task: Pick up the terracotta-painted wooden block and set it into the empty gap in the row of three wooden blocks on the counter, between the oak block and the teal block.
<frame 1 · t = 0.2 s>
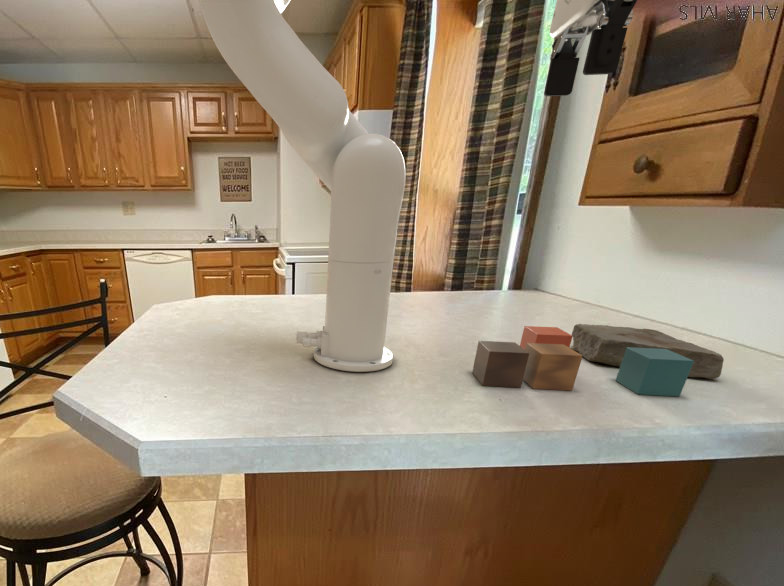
hand: (576, 85, 51), 37 cm above the countertop, tool pointing down, fingers open, 9 cm apart
teal block: (645, 388, 58), on the countertop
grey stone slab: (629, 360, 69), on the countertop
terracotta block: (539, 360, 68), on the countertop
walnut block: (495, 380, 60), on the countertop
oak block: (544, 382, 60), on the countertop
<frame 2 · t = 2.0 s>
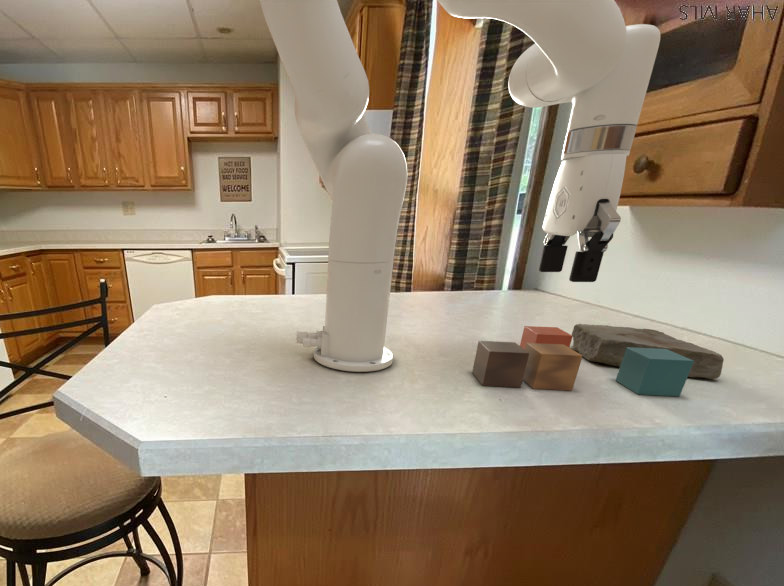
hand: (564, 276, 63), 13 cm above the countertop, tool pointing down, fingers open, 9 cm apart
nothing on the countertop moved.
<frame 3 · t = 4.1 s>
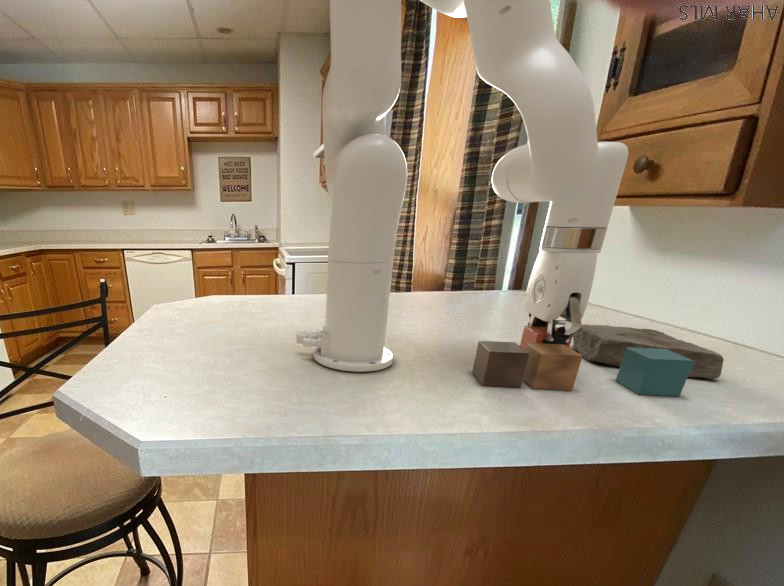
hand: (540, 358, 68), 0 cm above the countertop, tool pointing down, fingers closed on terracotta block, 5 cm apart
terracotta block: (539, 360, 68), on the countertop, touching gripper
everything else where it was.
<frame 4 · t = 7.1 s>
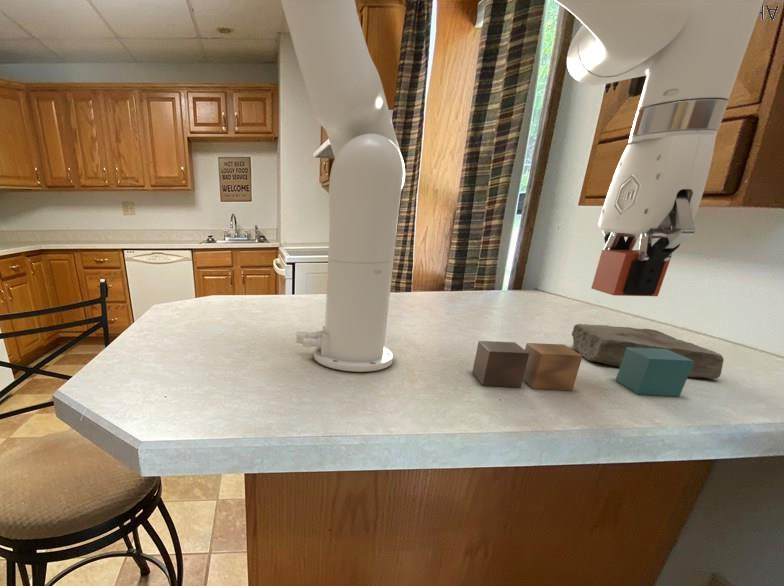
hand: (623, 288, 54), 13 cm above the countertop, tool pointing down, fingers closed on terracotta block, 5 cm apart
terracotta block: (622, 292, 54), point 13 cm above the countertop, touching gripper
everything else where it was.
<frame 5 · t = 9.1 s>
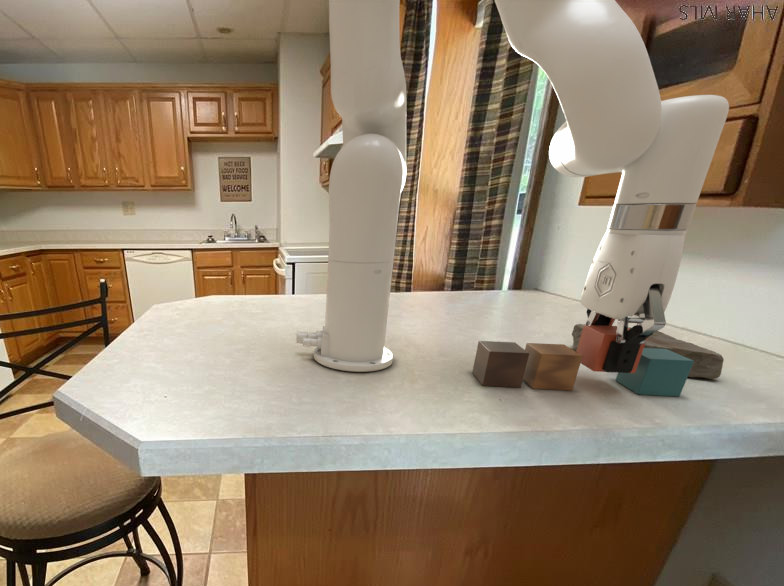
hand: (603, 362, 57), 3 cm above the countertop, tool pointing down, fingers closed on terracotta block, 5 cm apart
terracotta block: (603, 365, 58), point 3 cm above the countertop, touching gripper
everything else where it was.
when the fingers open (0 cm above the countertop, at t = 10.4 s): terracotta block stays where it is, on the countertop.
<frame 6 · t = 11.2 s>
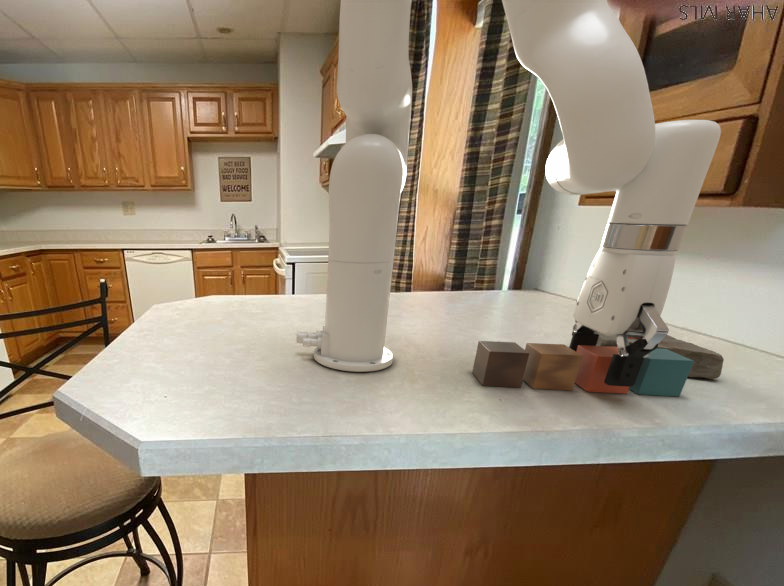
hand: (596, 371, 58), 2 cm above the countertop, tool pointing down, fingers open, 9 cm apart
terracotta block: (596, 385, 59), on the countertop
everything else where it was.
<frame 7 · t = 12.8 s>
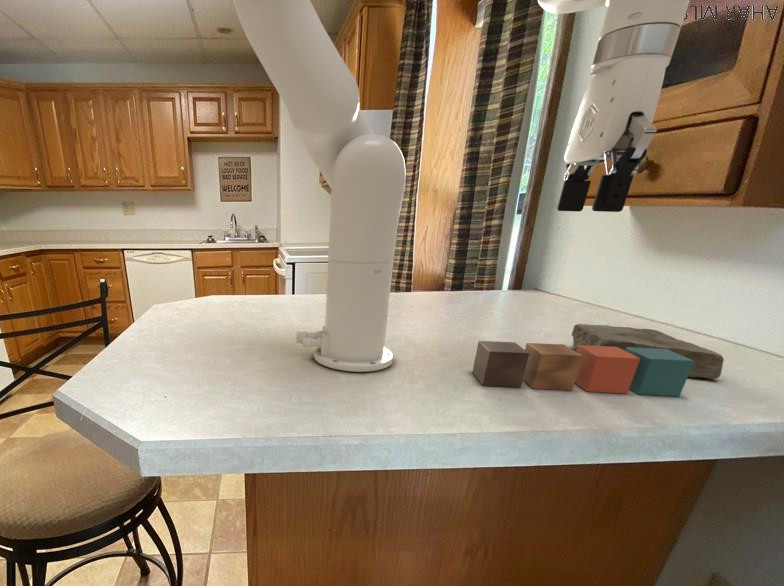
hand: (586, 211, 57), 22 cm above the countertop, tool pointing down, fingers open, 9 cm apart
nothing on the countertop moved.
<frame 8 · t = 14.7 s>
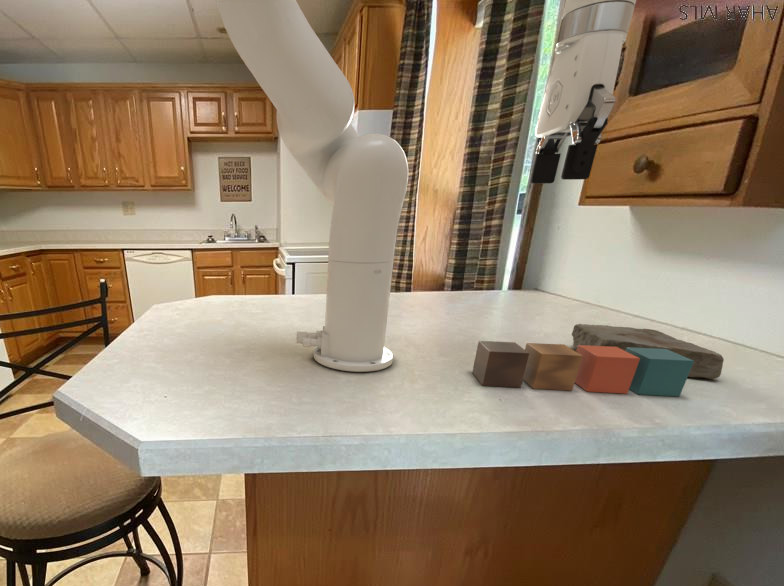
hand: (556, 181, 60), 26 cm above the countertop, tool pointing down, fingers open, 9 cm apart
nothing on the countertop moved.
at the end: terracotta block 0.3 cm from the target spot, on the countertop; terracotta block tilted 0°; oak block moved 0.0 cm from its start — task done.
